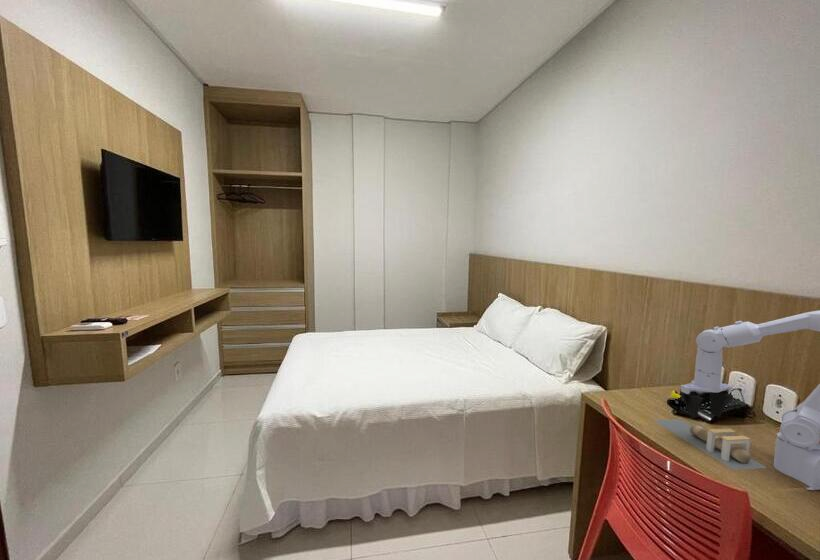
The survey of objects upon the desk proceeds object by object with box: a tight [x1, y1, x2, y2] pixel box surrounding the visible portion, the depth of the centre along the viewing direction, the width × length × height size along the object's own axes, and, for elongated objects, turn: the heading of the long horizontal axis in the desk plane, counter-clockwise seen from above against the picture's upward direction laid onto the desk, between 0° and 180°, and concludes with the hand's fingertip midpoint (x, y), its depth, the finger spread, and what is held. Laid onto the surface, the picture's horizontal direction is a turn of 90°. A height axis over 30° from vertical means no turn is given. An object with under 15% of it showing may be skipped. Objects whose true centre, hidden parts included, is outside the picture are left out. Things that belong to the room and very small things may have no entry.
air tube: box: [690, 424, 752, 463], centre depth 94 cm, size 14×3×3 cm, turn 6°
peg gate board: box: [652, 418, 768, 471], centre depth 97 cm, size 25×10×7 cm, turn 6°
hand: (703, 415), depth 97 cm, fingers open, 7 cm apart
